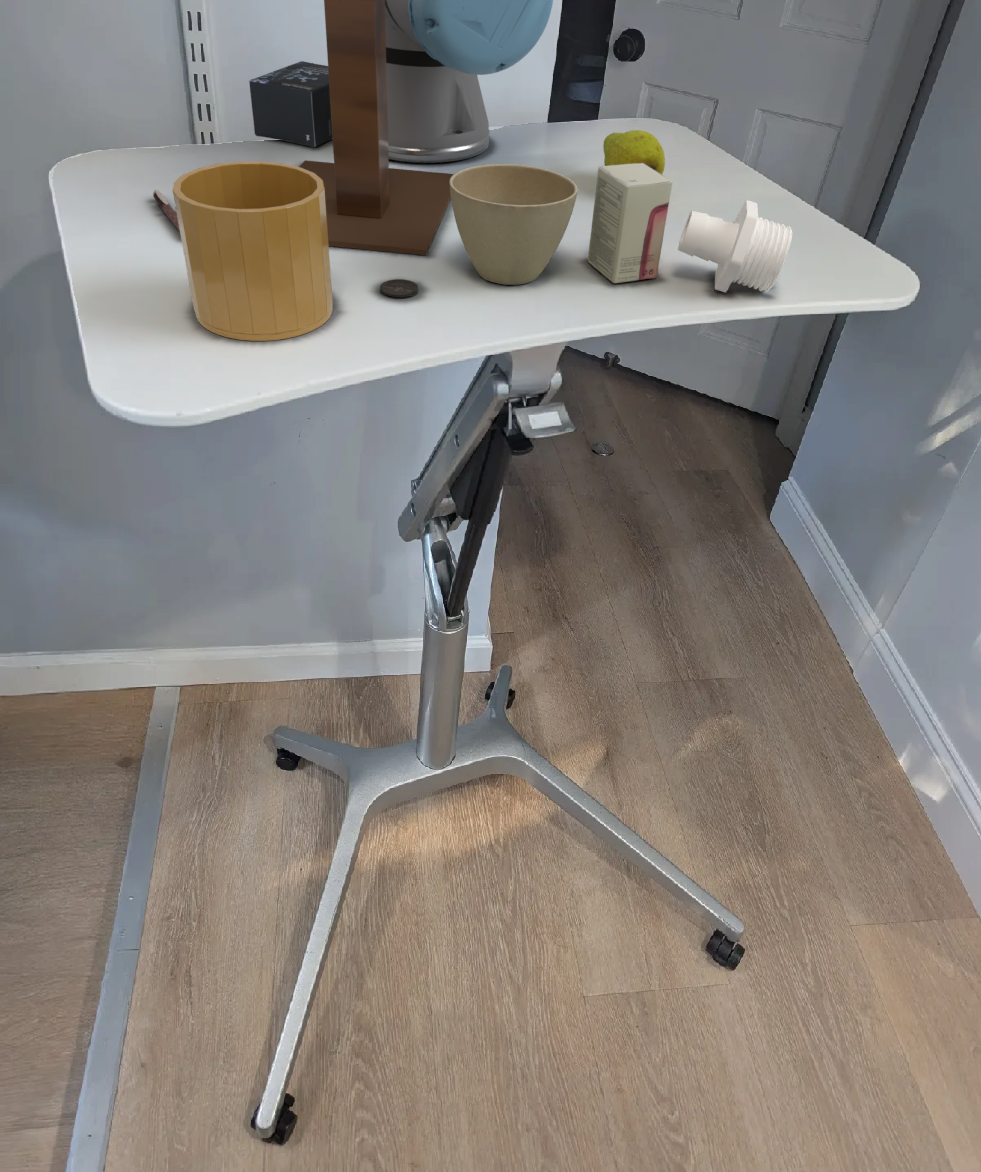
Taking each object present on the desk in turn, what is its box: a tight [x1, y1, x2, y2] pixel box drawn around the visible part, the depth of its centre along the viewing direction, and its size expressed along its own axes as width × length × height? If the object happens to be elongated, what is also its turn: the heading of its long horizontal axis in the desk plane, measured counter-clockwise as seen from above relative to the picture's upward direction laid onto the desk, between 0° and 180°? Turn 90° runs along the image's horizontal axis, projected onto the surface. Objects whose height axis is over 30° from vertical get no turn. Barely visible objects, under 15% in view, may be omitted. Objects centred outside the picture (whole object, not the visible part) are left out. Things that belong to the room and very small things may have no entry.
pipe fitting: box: [677, 199, 793, 294], centre depth 73 cm, size 6×7×8 cm
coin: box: [379, 278, 419, 298], centre depth 71 cm, size 3×1×3 cm
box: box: [248, 60, 333, 148], centre depth 99 cm, size 8×6×11 cm
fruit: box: [603, 129, 666, 175], centre depth 91 cm, size 6×6×12 cm
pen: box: [152, 189, 180, 232], centre depth 79 cm, size 11×1×1 cm, turn 29°
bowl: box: [450, 163, 579, 286], centre depth 72 cm, size 10×10×7 cm
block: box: [323, 0, 390, 219], centre depth 76 cm, size 4×4×18 cm
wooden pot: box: [172, 160, 334, 342], centre depth 64 cm, size 10×10×9 cm
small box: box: [587, 163, 673, 284], centre depth 73 cm, size 5×4×8 cm
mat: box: [298, 160, 455, 256], centre depth 84 cm, size 20×16×1 cm
